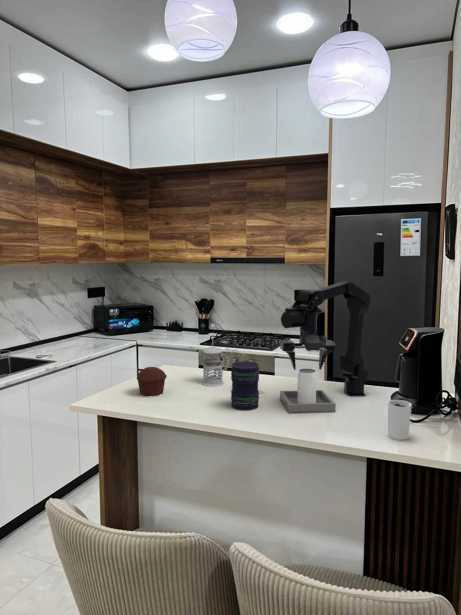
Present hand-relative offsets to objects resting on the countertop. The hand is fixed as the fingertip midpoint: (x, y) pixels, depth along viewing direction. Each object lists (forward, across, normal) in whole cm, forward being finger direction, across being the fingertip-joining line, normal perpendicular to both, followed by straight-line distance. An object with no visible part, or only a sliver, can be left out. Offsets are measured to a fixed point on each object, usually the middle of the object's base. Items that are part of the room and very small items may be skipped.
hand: (307, 369), depth 164 cm
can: (+12, 0, 0) cm, 13 cm away
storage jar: (+13, -22, +1) cm, 26 cm away
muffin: (+13, -56, +19) cm, 61 cm away
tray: (+13, 0, 0) cm, 13 cm away
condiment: (+13, -18, +18) cm, 29 cm away
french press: (+13, -31, +31) cm, 46 cm away
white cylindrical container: (+13, +20, -30) cm, 38 cm away
